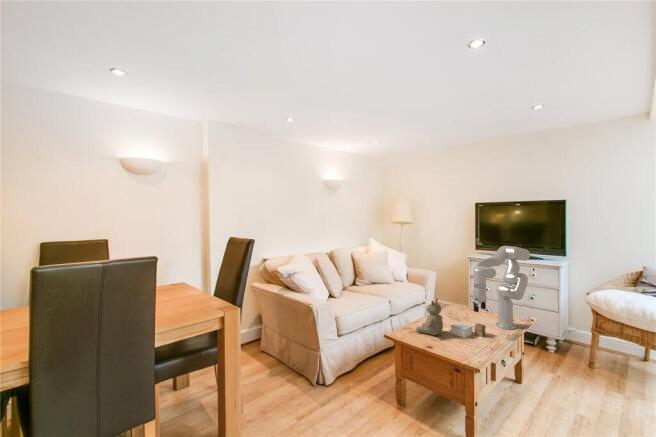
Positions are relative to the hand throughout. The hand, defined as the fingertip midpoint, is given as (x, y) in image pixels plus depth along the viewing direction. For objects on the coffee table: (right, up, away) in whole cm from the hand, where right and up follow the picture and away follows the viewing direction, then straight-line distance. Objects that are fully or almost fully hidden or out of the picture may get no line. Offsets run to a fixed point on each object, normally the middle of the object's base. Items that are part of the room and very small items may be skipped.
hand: (479, 310), depth 208 cm
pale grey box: (-11, -18, +3) cm, 21 cm away
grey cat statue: (-33, -18, +6) cm, 38 cm away
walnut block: (0, -18, +1) cm, 18 cm away
